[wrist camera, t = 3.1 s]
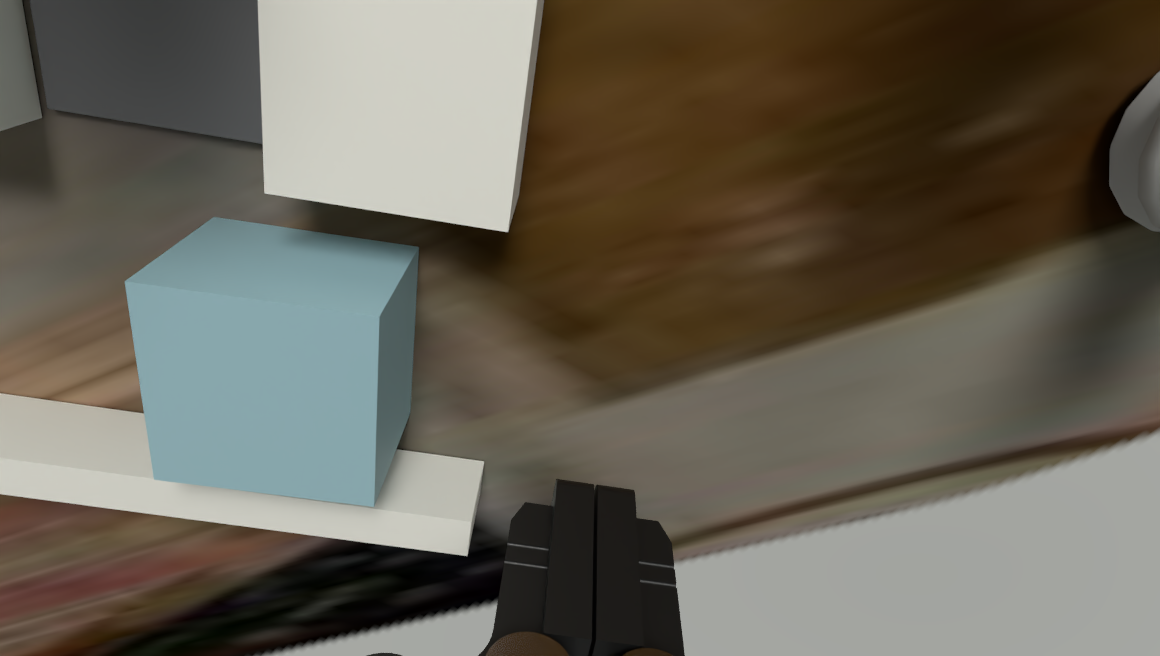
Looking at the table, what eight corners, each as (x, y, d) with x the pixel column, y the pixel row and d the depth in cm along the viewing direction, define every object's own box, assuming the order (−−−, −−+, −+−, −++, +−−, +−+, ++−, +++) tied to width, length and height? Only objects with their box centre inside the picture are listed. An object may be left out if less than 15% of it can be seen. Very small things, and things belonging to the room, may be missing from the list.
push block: (230, 386, 20) (153, 479, 17) (216, 215, 18) (124, 281, 15) (411, 410, 21) (374, 506, 17) (420, 244, 18) (379, 317, 15)
